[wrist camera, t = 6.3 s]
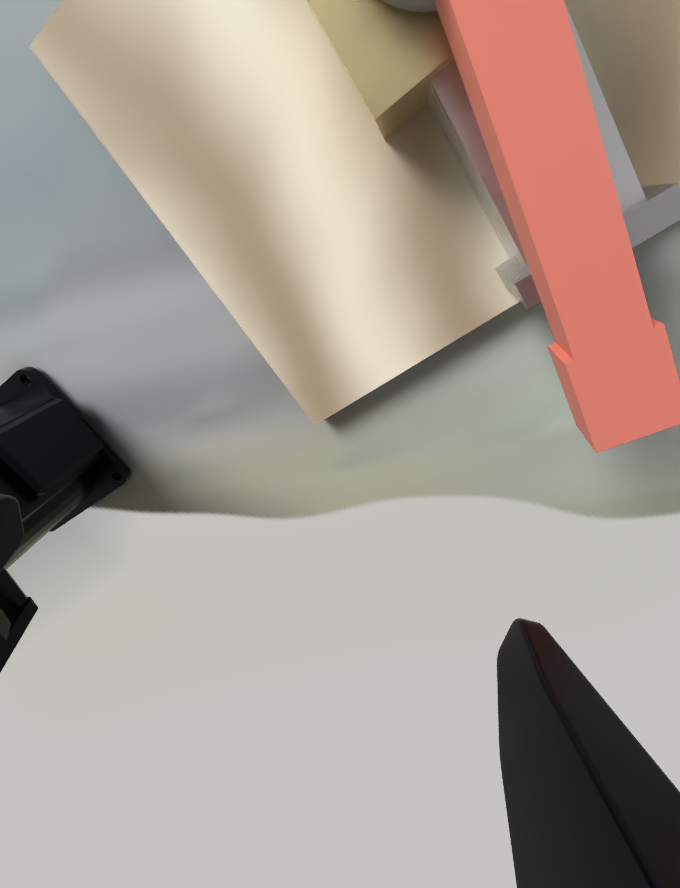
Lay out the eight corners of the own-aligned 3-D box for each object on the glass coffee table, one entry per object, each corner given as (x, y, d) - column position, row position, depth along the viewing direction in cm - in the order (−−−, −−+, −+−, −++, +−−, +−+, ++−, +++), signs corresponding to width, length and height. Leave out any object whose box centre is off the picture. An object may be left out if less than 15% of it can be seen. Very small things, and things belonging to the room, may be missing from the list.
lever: (693, 373, 12) (746, 406, 10) (535, 432, 13) (555, 471, 11) (503, -382, 7) (533, -585, 6) (289, -180, 9) (253, -290, 7)
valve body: (478, 305, 17) (498, 337, 13) (220, -148, 12) (130, -313, 9) (658, 194, 14) (750, 189, 10) (419, -399, 10) (421, -778, 6)
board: (319, 415, 20) (314, 425, 19) (51, 55, 16) (29, 45, 15) (745, 155, 14) (767, 151, 13) (512, -538, 10) (521, -613, 9)
